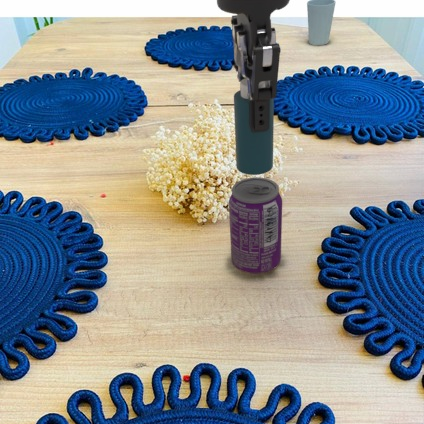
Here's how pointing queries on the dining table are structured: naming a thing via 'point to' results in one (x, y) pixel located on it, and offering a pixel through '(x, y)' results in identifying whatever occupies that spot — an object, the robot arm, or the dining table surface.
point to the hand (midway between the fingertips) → (254, 121)
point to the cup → (320, 20)
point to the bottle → (251, 136)
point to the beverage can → (255, 225)
